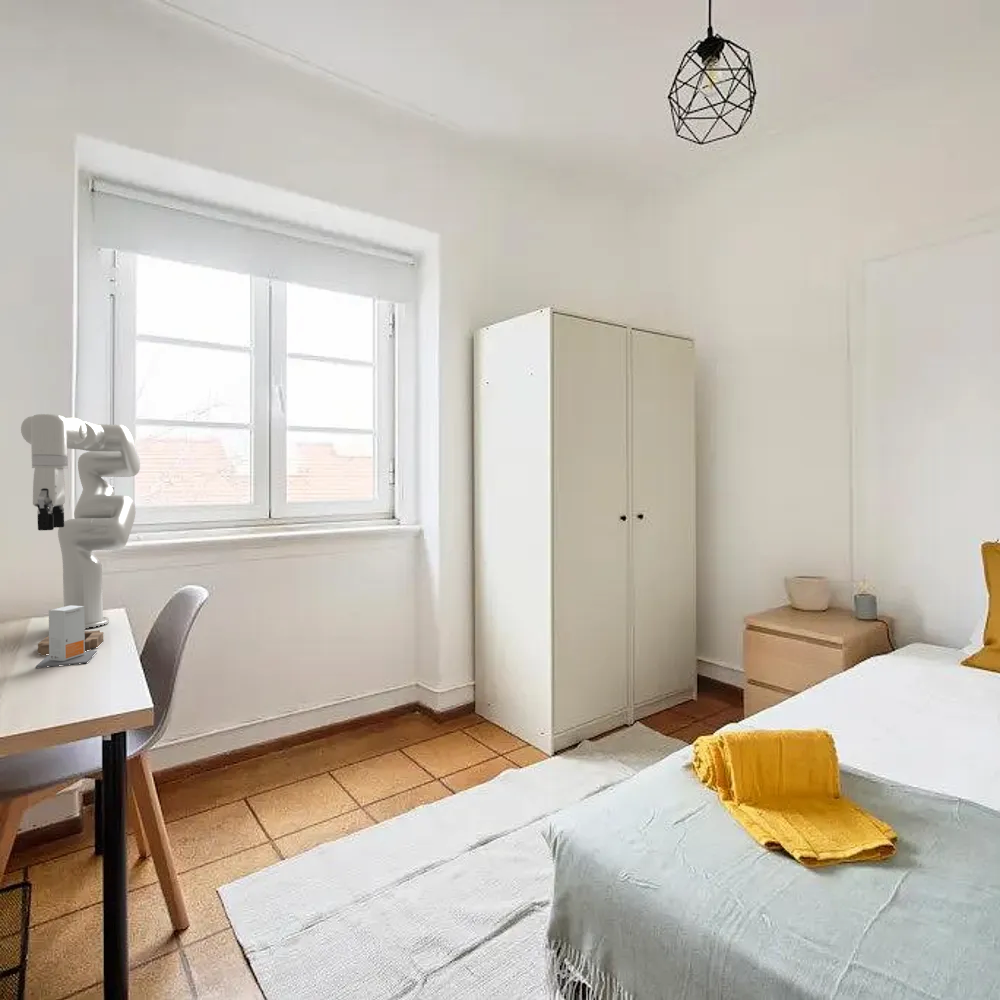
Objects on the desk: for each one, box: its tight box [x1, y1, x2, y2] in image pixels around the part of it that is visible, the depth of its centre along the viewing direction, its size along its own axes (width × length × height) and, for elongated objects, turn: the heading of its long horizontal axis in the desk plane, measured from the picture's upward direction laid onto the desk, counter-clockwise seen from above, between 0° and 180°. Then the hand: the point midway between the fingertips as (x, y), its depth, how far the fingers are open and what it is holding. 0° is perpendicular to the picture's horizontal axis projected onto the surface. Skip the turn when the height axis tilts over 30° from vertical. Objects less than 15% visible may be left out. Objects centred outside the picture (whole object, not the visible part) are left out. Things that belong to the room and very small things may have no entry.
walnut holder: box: [37, 630, 104, 656], centre depth 159 cm, size 12×12×2 cm
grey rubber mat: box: [35, 650, 98, 669], centre depth 147 cm, size 10×10×1 cm
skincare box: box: [48, 605, 85, 661], centre depth 148 cm, size 6×4×12 cm
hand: (51, 528), depth 160 cm, fingers open, 9 cm apart
